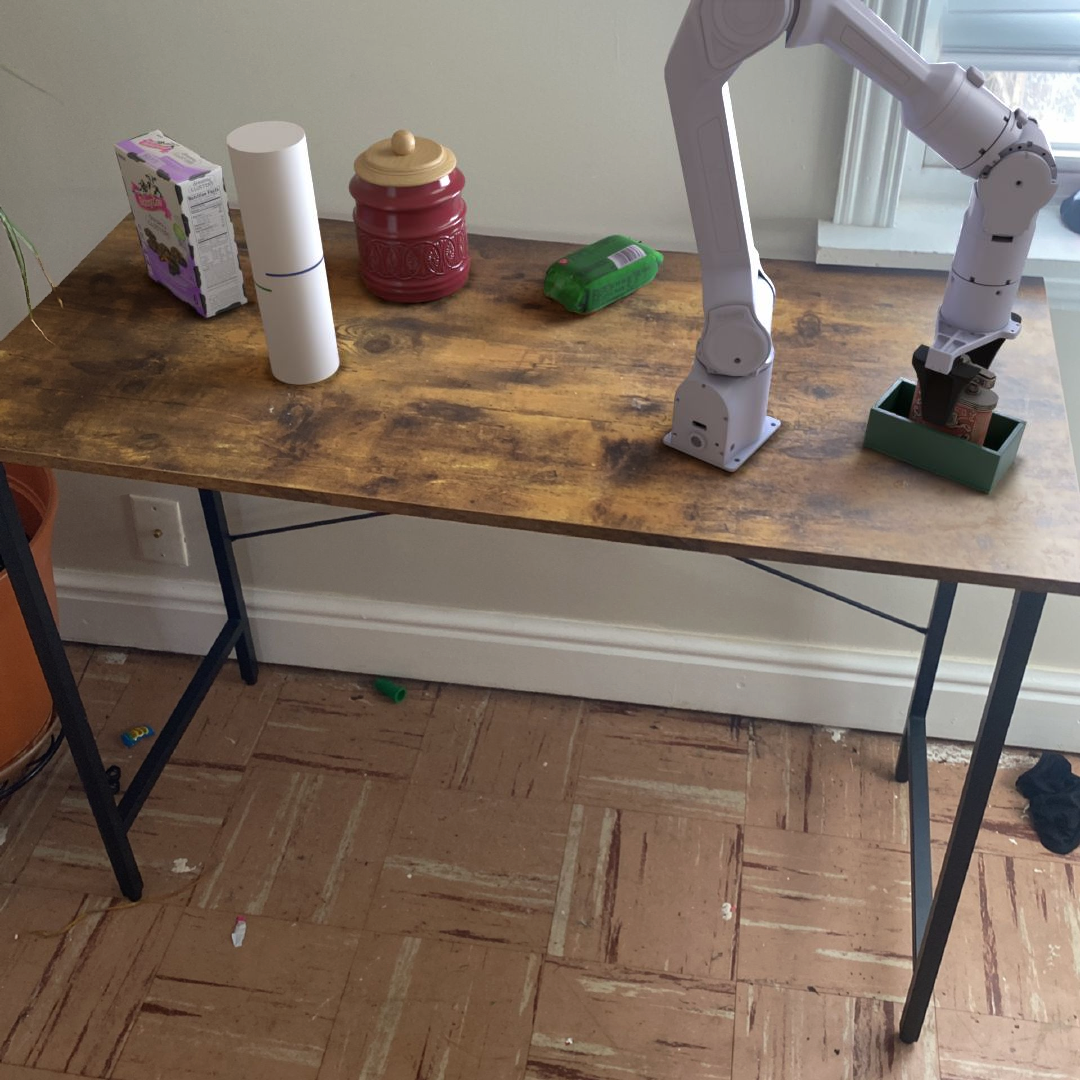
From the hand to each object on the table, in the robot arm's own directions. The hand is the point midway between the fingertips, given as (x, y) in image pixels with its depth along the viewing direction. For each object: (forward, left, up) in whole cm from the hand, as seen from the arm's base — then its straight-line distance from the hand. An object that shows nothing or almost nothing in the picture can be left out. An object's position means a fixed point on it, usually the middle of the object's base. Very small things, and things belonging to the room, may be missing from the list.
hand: (950, 402), depth 108 cm
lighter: (0, 0, -6) cm, 6 cm away
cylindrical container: (-25, +60, -6) cm, 65 cm away
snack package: (+6, +43, -6) cm, 44 cm away
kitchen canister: (-4, +63, -6) cm, 63 cm away
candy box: (-21, +82, -6) cm, 85 cm away
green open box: (0, 0, -6) cm, 6 cm away
